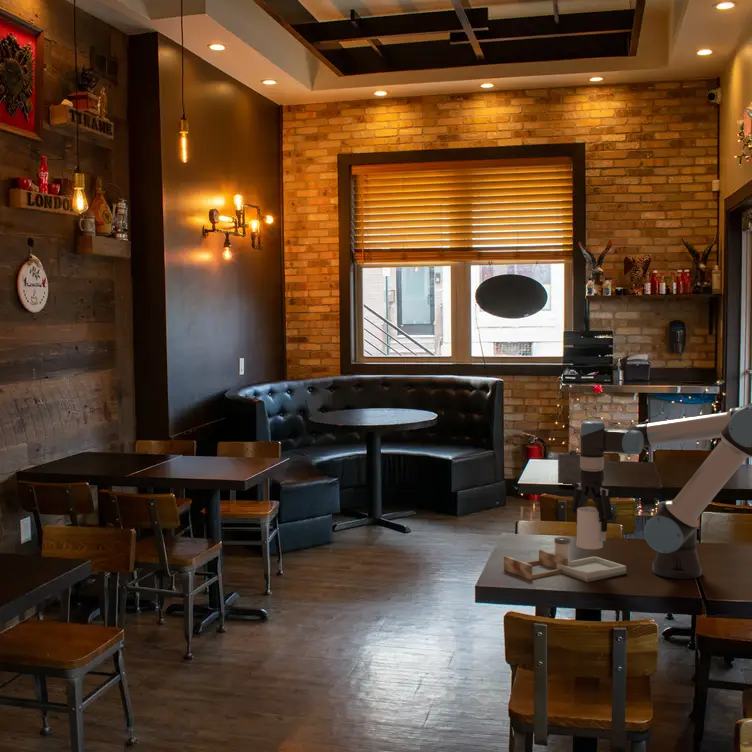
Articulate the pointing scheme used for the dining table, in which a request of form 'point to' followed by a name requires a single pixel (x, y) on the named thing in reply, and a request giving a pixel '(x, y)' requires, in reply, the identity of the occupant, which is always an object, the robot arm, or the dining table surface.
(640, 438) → the robot arm
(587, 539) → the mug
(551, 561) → the oak caddy
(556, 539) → the salt jar
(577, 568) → the tray
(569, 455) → the flask
